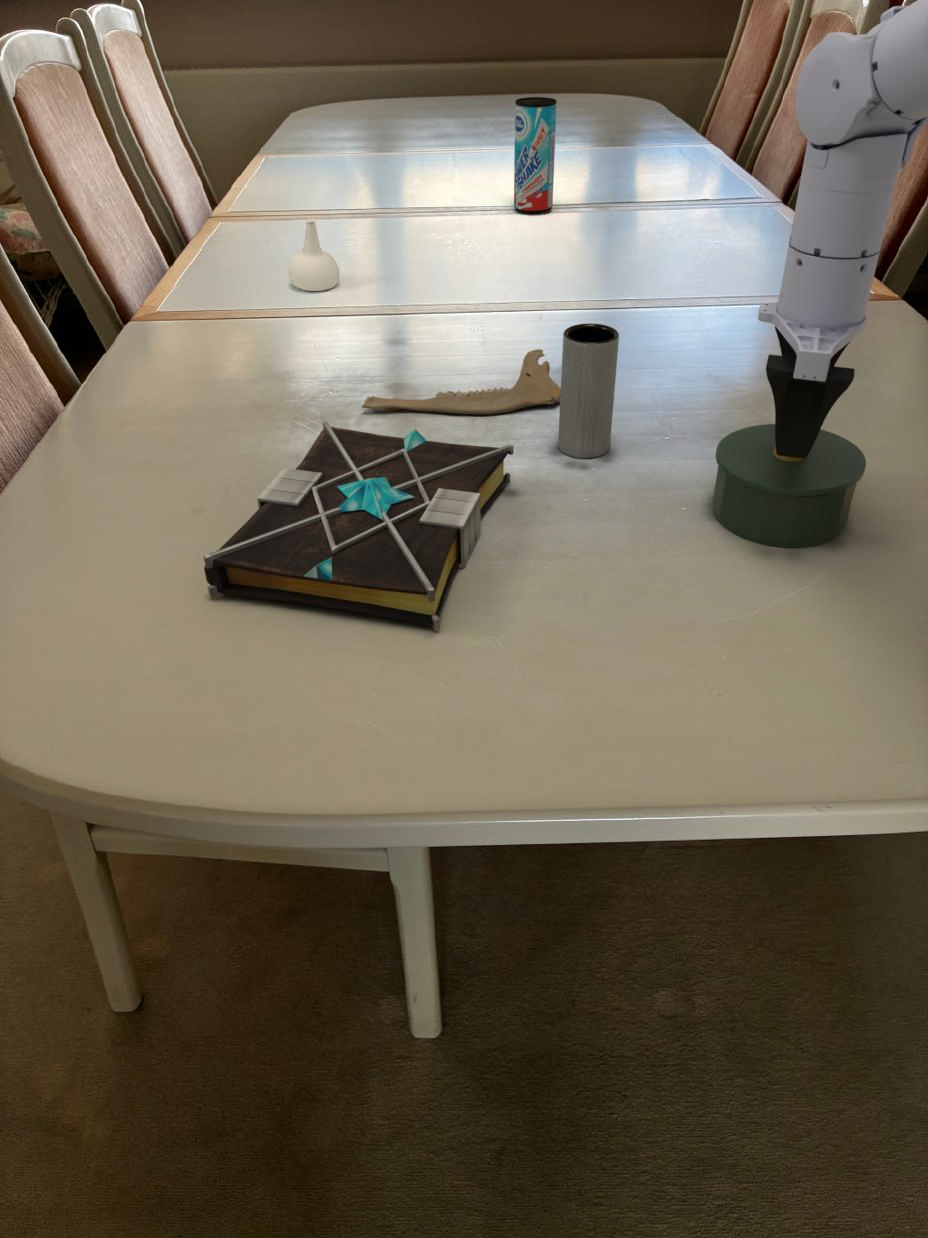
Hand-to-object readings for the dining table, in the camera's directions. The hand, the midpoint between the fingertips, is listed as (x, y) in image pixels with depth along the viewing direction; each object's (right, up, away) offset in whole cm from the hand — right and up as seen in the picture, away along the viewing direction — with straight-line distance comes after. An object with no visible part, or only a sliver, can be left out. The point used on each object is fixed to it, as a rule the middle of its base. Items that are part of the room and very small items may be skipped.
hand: (794, 435), depth 71 cm
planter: (-14, +1, +14) cm, 19 cm away
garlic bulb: (-43, +28, +49) cm, 71 cm away
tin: (0, -5, +4) cm, 7 cm away
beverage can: (-14, +49, +76) cm, 91 cm away
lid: (0, -2, +1) cm, 2 cm away
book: (-31, -7, +2) cm, 32 cm away
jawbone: (-25, +9, +23) cm, 35 cm away
